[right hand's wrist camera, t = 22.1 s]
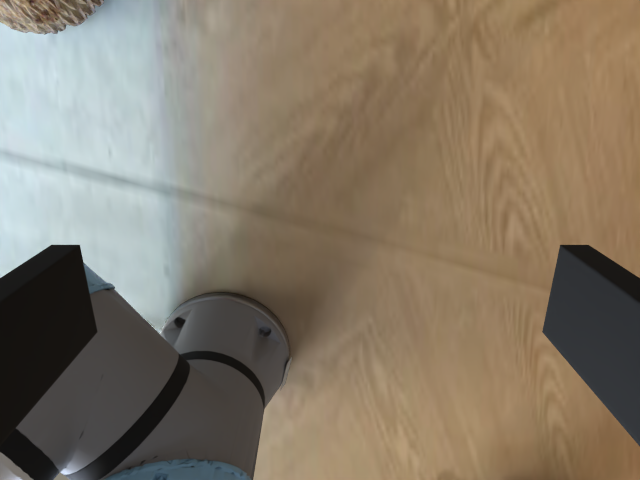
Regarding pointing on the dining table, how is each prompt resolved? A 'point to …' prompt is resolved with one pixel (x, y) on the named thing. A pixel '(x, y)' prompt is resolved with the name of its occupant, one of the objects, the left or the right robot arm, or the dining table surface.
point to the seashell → (45, 14)
